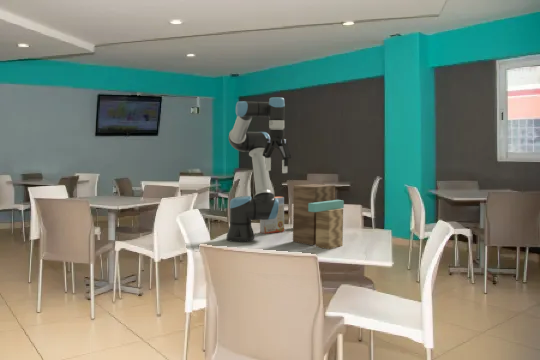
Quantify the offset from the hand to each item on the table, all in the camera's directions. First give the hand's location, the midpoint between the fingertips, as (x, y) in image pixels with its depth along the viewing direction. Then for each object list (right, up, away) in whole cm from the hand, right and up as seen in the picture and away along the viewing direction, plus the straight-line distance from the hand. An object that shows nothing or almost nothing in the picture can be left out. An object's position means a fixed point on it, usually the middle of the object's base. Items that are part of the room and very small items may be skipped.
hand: (276, 171), depth 242 cm
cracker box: (-2, -35, +45) cm, 58 cm away
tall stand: (+20, -37, +19) cm, 46 cm away
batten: (+25, -19, +2) cm, 32 cm away
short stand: (+27, -38, +5) cm, 47 cm away
